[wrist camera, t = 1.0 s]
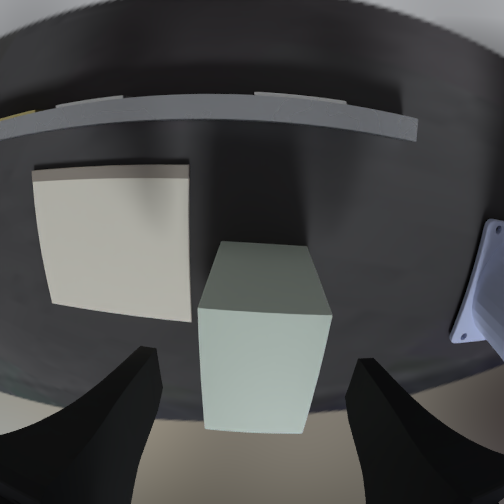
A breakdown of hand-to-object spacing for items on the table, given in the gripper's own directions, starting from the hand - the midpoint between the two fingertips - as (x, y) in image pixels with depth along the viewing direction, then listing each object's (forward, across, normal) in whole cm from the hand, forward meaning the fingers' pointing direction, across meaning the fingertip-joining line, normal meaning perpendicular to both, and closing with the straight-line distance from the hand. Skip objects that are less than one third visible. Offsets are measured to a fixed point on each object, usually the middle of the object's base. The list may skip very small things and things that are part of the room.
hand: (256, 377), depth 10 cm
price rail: (+6, +5, -9) cm, 12 cm away
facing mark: (+6, +8, -2) cm, 10 cm away
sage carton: (+6, 0, 0) cm, 6 cm away
